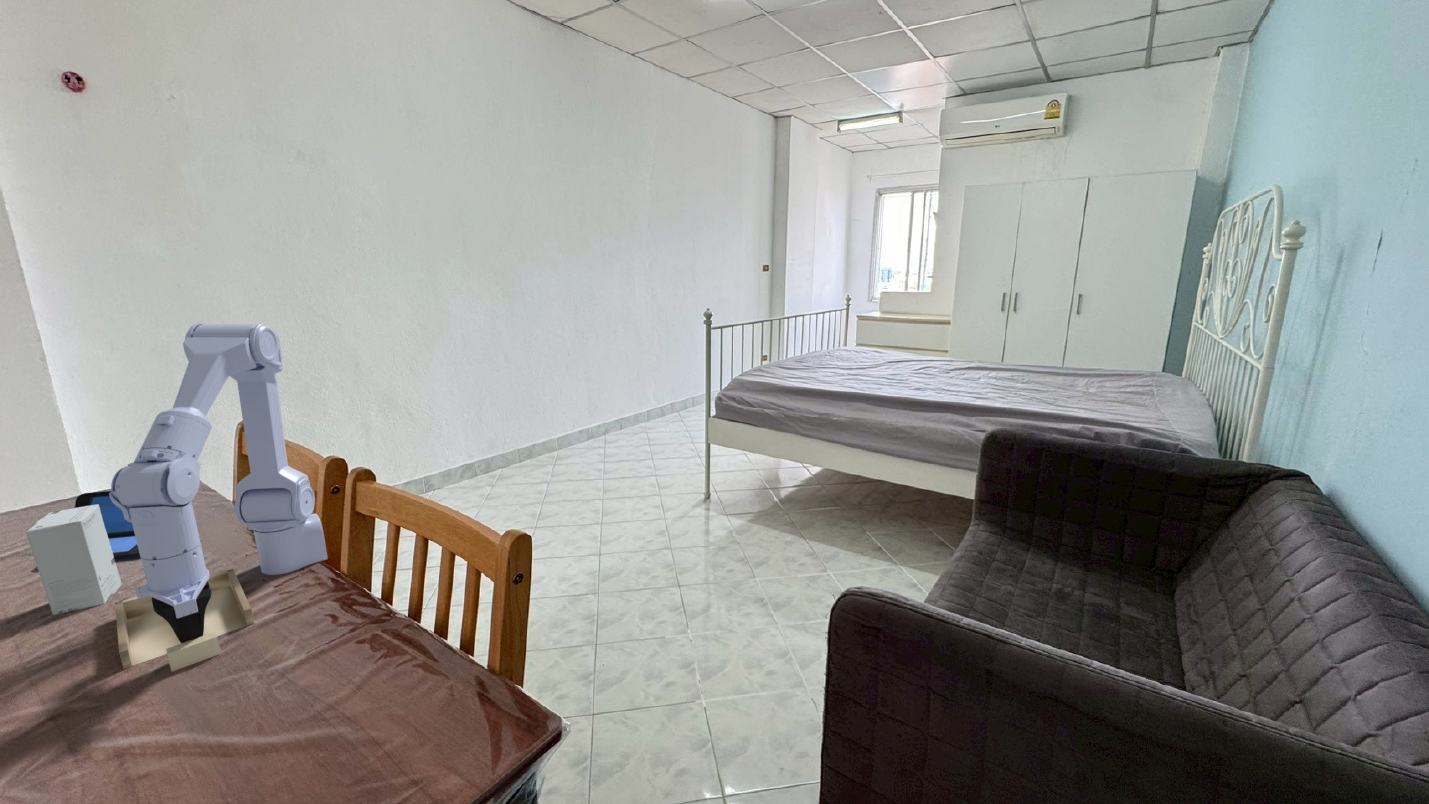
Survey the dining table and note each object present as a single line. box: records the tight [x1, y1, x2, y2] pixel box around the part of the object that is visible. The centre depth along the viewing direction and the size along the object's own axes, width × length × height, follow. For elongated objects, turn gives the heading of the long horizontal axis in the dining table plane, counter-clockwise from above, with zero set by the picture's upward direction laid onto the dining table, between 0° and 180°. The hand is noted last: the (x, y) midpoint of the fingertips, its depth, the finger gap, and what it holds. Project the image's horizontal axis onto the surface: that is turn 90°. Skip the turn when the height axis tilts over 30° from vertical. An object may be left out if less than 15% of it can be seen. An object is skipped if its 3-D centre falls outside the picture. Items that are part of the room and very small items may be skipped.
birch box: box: [114, 568, 255, 670], centre depth 84 cm, size 14×16×4 cm
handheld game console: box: [74, 490, 141, 562], centre depth 105 cm, size 16×13×9 cm
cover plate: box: [166, 632, 222, 673], centre depth 74 cm, size 10×8×4 cm
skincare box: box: [25, 504, 122, 616], centre depth 88 cm, size 8×6×15 cm
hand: (192, 639), depth 77 cm, fingers closed
